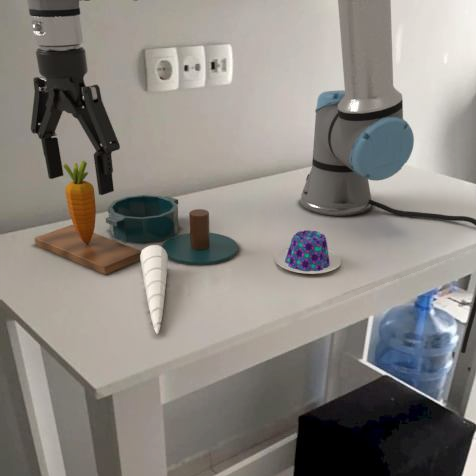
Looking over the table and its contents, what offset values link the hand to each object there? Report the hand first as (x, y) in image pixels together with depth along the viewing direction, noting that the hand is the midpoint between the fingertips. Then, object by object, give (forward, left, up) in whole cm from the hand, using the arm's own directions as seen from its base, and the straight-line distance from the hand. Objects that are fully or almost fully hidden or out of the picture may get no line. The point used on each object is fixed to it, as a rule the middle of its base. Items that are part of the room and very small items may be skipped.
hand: (80, 184), depth 111 cm
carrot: (0, 0, -11) cm, 11 cm away
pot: (0, -14, -12) cm, 19 cm away
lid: (-15, -14, -12) cm, 24 cm away
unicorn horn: (-23, +5, -13) cm, 26 cm away
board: (0, 0, -12) cm, 12 cm away
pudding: (-34, -22, -13) cm, 42 cm away
